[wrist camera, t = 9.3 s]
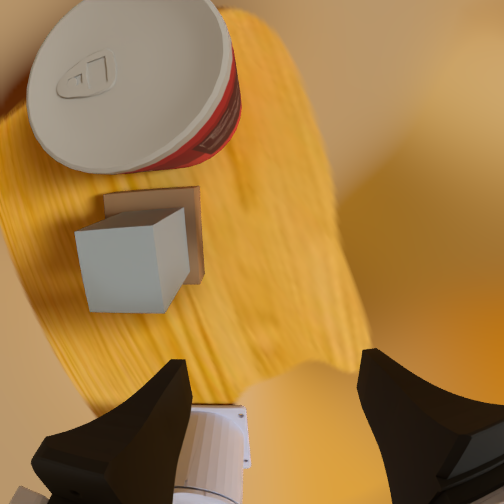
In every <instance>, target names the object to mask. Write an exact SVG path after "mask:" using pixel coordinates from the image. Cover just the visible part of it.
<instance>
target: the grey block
mask: <svg viewBox="0 0 504 504" xmlns="http://www.w3.org/2000/svg"><path fill="white" fill-rule="evenodd" d="M75 239H76V245H77V251H78V257H79V263H80V268H81V273H82V278H83V283H84V288H85V292H86V297H87V301H88V306H89V310H90V312H108V313H165V312H166V310H167V309H168V307H169V305H170V304H171V302H172V300H173V299H174V297H175V295H176V294H177V292H178V290H179V289H180V287H181V285H182V284H183V282H184V280H185V279H186V277H187V275H188V274H189V272H190V266H189V257H188V247H187V237H186V226H185V214H184V207H179V208H166V209H154V210H142V211H131V212H122V213H120V214H117V215H115V216H112V217H109V218H107V219H104V220H102V221H99V222H97V223H94V224H92V225H89V226H87V227H84V228H82V229H80V230H77V231H75Z"/></svg>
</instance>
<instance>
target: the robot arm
mask: <svg viewBox="0 0 504 504" xmlns="http://www.w3.org/2000/svg"><path fill="white" fill-rule="evenodd" d="M357 390H358V395H359V399H360V402H361V405H362V409H363V411H364V413H365V416H366V418H367V420H368V423H369V425H370V427H371V430H372V432H373V434H374V436H375V439H376V441H377V444H378V446H379V449H380V452H381V455H382V458H383V462H384V466H385V470H386V473H387V477H388V482H389V487H390V492H391V498H392V504H504V405H497V404H489V403H484V402H480V401H475V400H471V399H468V398H464V397H461V396H458V395H456V394H452V393H450V392H448V391H445V390H443V389H441V388H439V387H437V386H434V385H432V384H431V383H429V382H427V381H425V380H423V379H422V378H420V377H418V376H417V375H415V374H413V373H412V372H410V371H409V370H407V369H406V368H404V367H403V366H401V365H400V364H398V363H397V362H395V361H394V360H393V359H391V358H390V357H389V356H387V355H386V354H384V353H383V352H381V351H380V350H378V349H377V348H374V349H366V350H363V351H362V358H361V364H360V371H359V377H358V383H357ZM192 398H193V396H192V391H191V386H190V381H189V376H188V371H187V366H186V361H185V360H182V359H171V360H170V361H169V362H168V363H167V364H166V365H165V366H164V367H163V368H162V369H161V370H160V371H159V372H158V373H157V374H156V375H155V376H154V377H153V378H151V379H150V380H149V381H148V382H147V383H146V384H145V385H144V386H143V387H142V388H141V389H139V390H138V391H137V392H136V393H135V394H134V395H132V396H131V397H130V398H129V399H127V400H126V401H125V402H123V403H122V404H121V405H119V406H118V407H116V408H115V409H113V410H111V411H110V412H108V413H106V414H104V415H103V416H101V417H99V418H97V419H95V420H93V421H91V422H89V423H87V424H85V425H82V426H80V427H77V428H75V429H72V430H69V431H66V432H62V433H59V434H55V435H51V436H47V437H46V438H45V439H44V440H43V442H42V444H41V445H40V447H39V448H38V450H37V452H36V453H35V455H34V456H33V458H32V460H31V465H32V467H33V470H34V472H35V473H36V475H37V476H38V477H39V478H40V480H41V481H42V482H43V483H44V485H46V487H47V488H48V489H49V491H50V492H51V493H52V495H51V497H50V499H48V498H46V497H45V496H43V495H41V494H39V493H36V492H34V491H32V490H30V489H27V488H25V487H23V486H19V487H18V489H17V491H16V493H15V494H14V496H13V498H12V500H11V501H10V503H9V504H242V493H243V468H250V467H251V457H250V446H249V436H248V425H247V414H246V413H247V412H246V408H245V407H244V406H242V405H192ZM239 414H243V415H239Z"/></svg>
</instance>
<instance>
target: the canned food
mask: <svg viewBox="0 0 504 504" xmlns="http://www.w3.org/2000/svg"><path fill="white" fill-rule="evenodd" d="M241 109H242V105H241V94H240V88H239V81H238V75H237V68H236V62H235V56H234V50H233V47H232V42H231V38H230V35H229V32H228V29H227V26H226V23H225V22H224V20H223V18H222V16H221V15H220V13H219V12H218V10H217V9H216V7H215V6H214V4H213V3H212V2H211V1H210V0H83V1H82V2H80V3H79V4H78V5H76V6H75V7H73V8H72V9H71V10H70V11H69V12H68V13H67V14H66V15H65V16H64V17H63V18H62V19H61V20H60V21H59V22H58V23H57V24H56V25H55V27H54V28H53V29H52V30H51V32H50V33H49V34H48V36H47V37H46V39H45V40H44V42H43V44H42V46H41V47H40V49H39V51H38V53H37V55H36V58H35V61H34V63H33V65H32V68H31V71H30V76H29V81H28V86H27V111H28V118H29V122H30V125H31V128H32V130H33V133H34V135H35V137H36V139H37V140H38V142H39V143H40V145H41V146H42V148H43V149H44V150H45V151H46V152H47V153H48V154H49V155H50V156H51V157H52V158H54V159H55V160H56V161H57V162H59V163H61V164H63V165H65V166H67V167H69V168H71V169H74V170H79V171H83V172H87V173H93V174H128V173H137V172H146V171H156V170H166V169H177V168H185V167H190V166H193V165H197V164H200V163H202V162H204V161H206V160H208V159H210V158H211V157H213V156H214V155H215V154H217V153H218V152H219V151H220V150H222V149H223V147H224V146H225V145H226V144H227V143H228V142H229V141H230V139H231V138H232V136H233V134H234V133H235V131H236V129H237V126H238V123H239V121H240V116H241Z"/></svg>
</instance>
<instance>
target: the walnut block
mask: <svg viewBox="0 0 504 504" xmlns="http://www.w3.org/2000/svg"><path fill="white" fill-rule="evenodd" d="M103 197H104V209H105V219H107V218H109V217H112V216H115V215H117V214H120V213H122V212H131V211H142V210H154V209H166V208H179V207H184V214H185V226H186V237H187V247H188V257H189V266H190V272H189V274H188V275H187V277H186V279H185V280H184V282H183V284H200V283H201V281H202V279H203V276H204V274H205V271H204V257H203V241H202V224H201V205H200V186H189V187H172V188H157V189H144V190H131V191H120V192H113V193H109V194H105V195H103Z"/></svg>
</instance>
